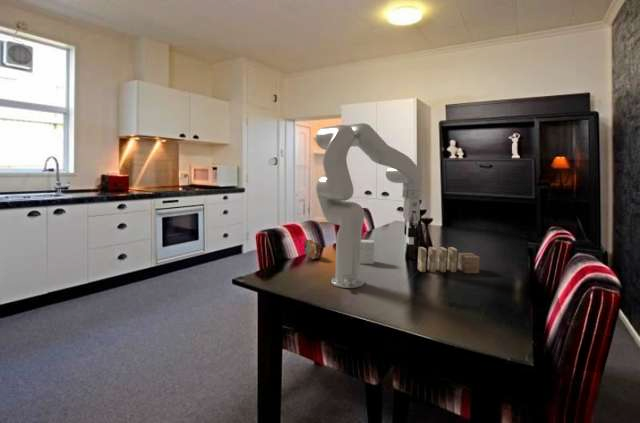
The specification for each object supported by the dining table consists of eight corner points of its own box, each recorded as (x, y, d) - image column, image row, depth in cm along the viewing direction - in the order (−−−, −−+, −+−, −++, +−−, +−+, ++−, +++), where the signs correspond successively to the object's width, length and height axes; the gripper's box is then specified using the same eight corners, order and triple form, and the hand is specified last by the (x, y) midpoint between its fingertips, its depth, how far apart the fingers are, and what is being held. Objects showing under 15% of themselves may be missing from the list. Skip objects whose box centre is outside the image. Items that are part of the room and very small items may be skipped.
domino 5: (451, 268, 164) (452, 247, 163) (455, 272, 159) (457, 249, 158) (447, 268, 164) (448, 247, 163) (451, 272, 159) (452, 249, 158)
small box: (373, 261, 175) (374, 239, 174) (373, 264, 170) (374, 242, 168) (356, 260, 176) (357, 239, 175) (356, 263, 171) (357, 241, 169)
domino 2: (421, 268, 163) (422, 246, 162) (425, 271, 158) (426, 249, 157) (417, 268, 163) (418, 246, 162) (420, 271, 158) (422, 249, 157)
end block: (478, 273, 158) (479, 257, 157) (465, 272, 158) (466, 257, 157) (470, 268, 166) (471, 253, 165) (457, 267, 165) (458, 252, 165)
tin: (303, 254, 188) (303, 238, 187) (309, 253, 189) (309, 237, 188) (315, 261, 174) (315, 243, 173) (321, 260, 176) (321, 243, 175)
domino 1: (410, 242, 162) (411, 219, 161) (413, 244, 157) (414, 221, 156) (405, 242, 162) (406, 219, 161) (408, 244, 157) (409, 221, 156)
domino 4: (441, 268, 164) (442, 247, 163) (445, 271, 159) (447, 249, 158) (437, 268, 164) (438, 247, 162) (441, 271, 159) (442, 249, 157)
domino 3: (431, 268, 164) (432, 247, 162) (435, 271, 159) (436, 249, 157) (427, 268, 163) (428, 246, 162) (431, 271, 158) (432, 249, 157)
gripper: (426, 196, 148) (424, 239, 151) (414, 193, 165) (412, 232, 168) (408, 195, 148) (406, 239, 150) (397, 192, 165) (396, 232, 167)
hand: (409, 235), depth 159 cm, fingers closed on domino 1, 4 cm apart
